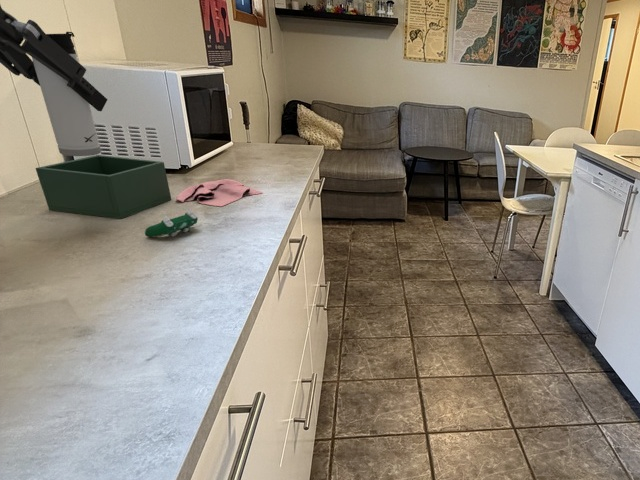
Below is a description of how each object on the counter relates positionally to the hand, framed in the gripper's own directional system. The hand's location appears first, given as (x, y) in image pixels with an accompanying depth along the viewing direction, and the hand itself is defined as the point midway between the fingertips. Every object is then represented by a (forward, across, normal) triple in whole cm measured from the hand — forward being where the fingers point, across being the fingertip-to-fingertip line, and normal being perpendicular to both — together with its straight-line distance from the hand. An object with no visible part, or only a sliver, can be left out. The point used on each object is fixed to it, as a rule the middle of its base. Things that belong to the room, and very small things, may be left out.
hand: (86, 103), depth 87 cm
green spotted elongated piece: (+16, +14, -17) cm, 27 cm away
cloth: (+35, +3, +2) cm, 35 cm away
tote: (+23, -10, -10) cm, 27 cm away
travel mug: (+4, 0, -9) cm, 9 cm away
